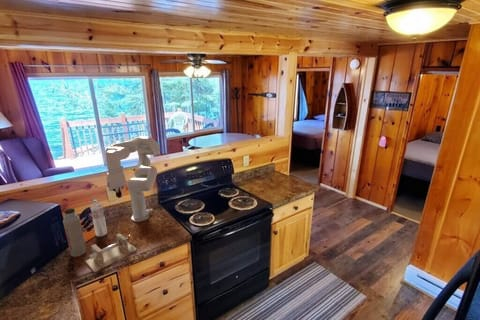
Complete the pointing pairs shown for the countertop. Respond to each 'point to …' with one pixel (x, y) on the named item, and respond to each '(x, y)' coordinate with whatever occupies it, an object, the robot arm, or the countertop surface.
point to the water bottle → (98, 219)
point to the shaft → (112, 246)
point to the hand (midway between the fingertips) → (119, 197)
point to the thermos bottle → (74, 233)
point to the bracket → (110, 254)
